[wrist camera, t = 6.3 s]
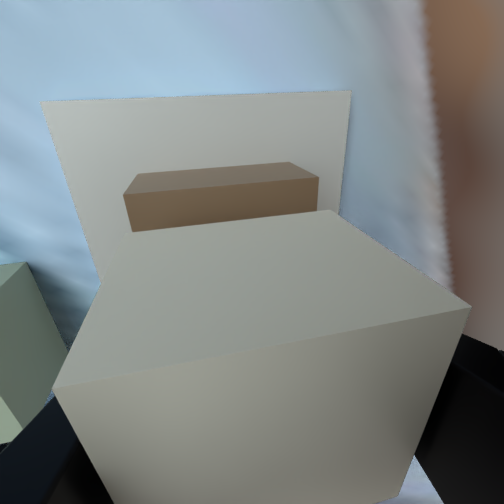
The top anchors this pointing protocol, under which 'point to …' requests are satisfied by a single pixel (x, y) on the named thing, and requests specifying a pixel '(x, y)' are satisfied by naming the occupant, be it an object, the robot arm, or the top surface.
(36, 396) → the sage brick
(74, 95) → the top surface
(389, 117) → the top surface
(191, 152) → the baseplate
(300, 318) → the cream brick
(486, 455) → the robot arm
